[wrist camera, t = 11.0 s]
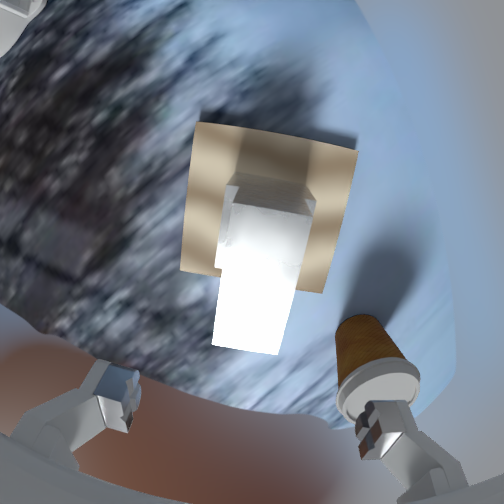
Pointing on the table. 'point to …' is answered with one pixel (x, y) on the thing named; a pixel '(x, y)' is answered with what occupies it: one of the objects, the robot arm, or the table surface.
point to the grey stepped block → (260, 259)
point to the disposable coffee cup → (370, 367)
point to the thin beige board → (269, 165)
